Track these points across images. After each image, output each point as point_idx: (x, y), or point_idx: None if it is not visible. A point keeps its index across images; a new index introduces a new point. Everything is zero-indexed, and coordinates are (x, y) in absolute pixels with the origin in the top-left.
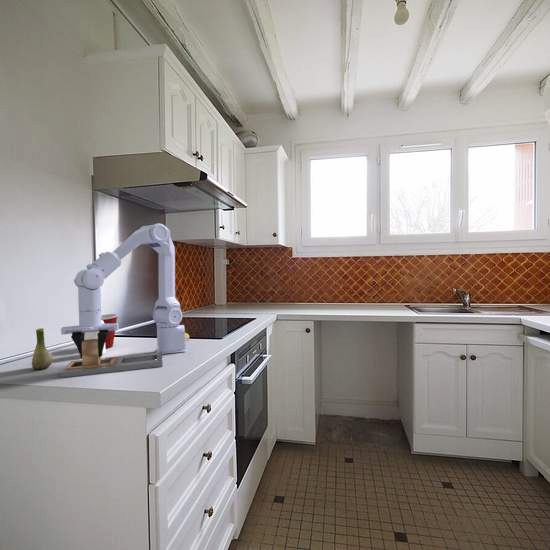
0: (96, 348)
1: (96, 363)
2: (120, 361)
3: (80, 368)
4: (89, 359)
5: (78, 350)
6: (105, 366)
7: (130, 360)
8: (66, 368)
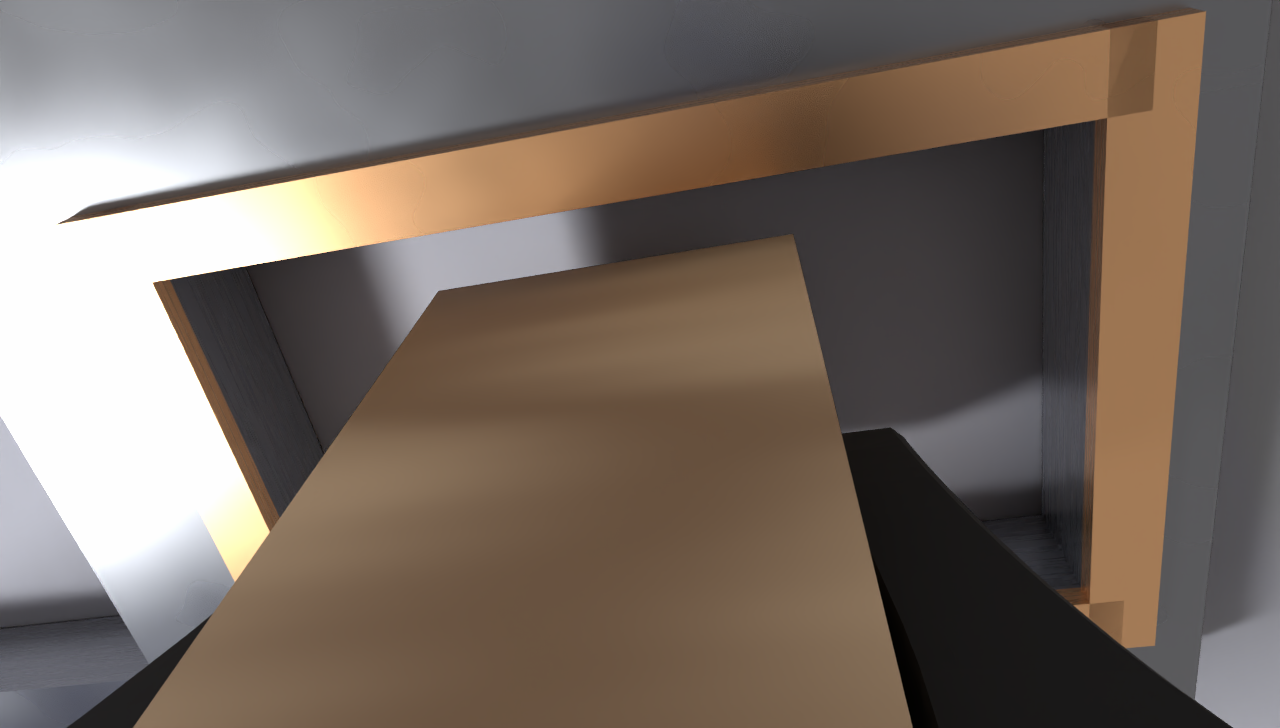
0: (271, 572)
1: (462, 307)
2: (52, 462)
3: (780, 47)
4: (607, 336)
5: (1029, 567)
6: (149, 90)
7: (74, 645)
8: (1181, 27)
